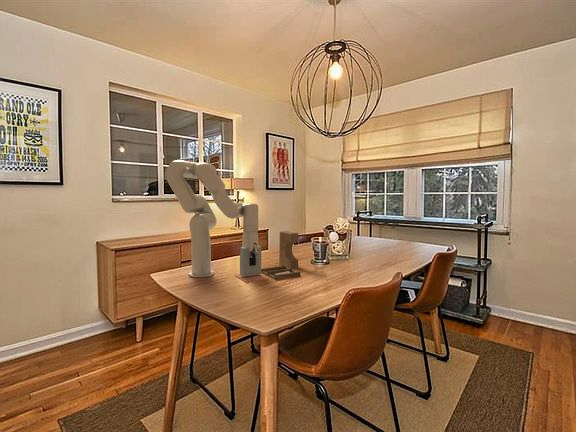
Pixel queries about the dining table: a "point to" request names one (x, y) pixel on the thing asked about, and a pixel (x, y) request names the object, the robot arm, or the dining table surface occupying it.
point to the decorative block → (287, 249)
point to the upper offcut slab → (282, 273)
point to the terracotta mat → (251, 278)
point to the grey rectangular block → (245, 263)
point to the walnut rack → (279, 269)
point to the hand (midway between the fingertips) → (250, 264)
